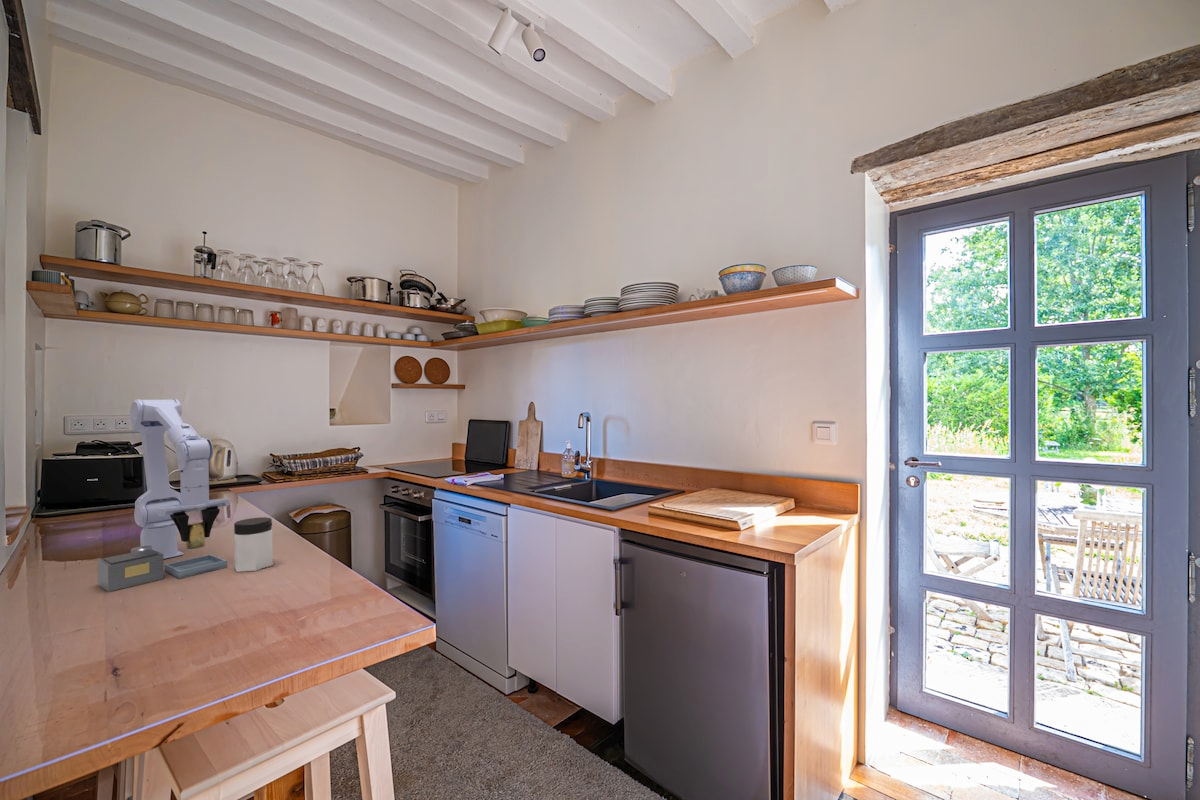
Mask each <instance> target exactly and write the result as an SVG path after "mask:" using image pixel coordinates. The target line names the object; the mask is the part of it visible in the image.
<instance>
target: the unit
mask: <svg viewBox="0 0 1200 800" xmlns="http://www.w3.org/2000/svg"><path fill="white" fill-rule="evenodd" d="M164 560H165V559H164V556H163V554H162V553H159V552H157V551H155V550H153V549H150V550H149V549H148V550H143V551H138V552H133V553H131V552H129V553H123V554H119V555H113V556H109V557H104V558H101V559H97V586H98V587H100V588H101V589H103V590H105V592H108V593H111V592H115V591H118V590H123V589H127V588H131V587H135V586H139V585H144V584H147V583H151V582H155V581H156V582H157V581H159V580H161V581H162V580H164V578H165V572H164V564H165V563H164Z"/></svg>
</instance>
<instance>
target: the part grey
mask: <svg viewBox="0 0 1200 800" xmlns="http://www.w3.org/2000/svg"><path fill="white" fill-rule="evenodd" d="M148 549H149V550H150V549H152V546H136V547H132V548H131V549H130V553H133V552H138V551H143V550H148Z"/></svg>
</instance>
